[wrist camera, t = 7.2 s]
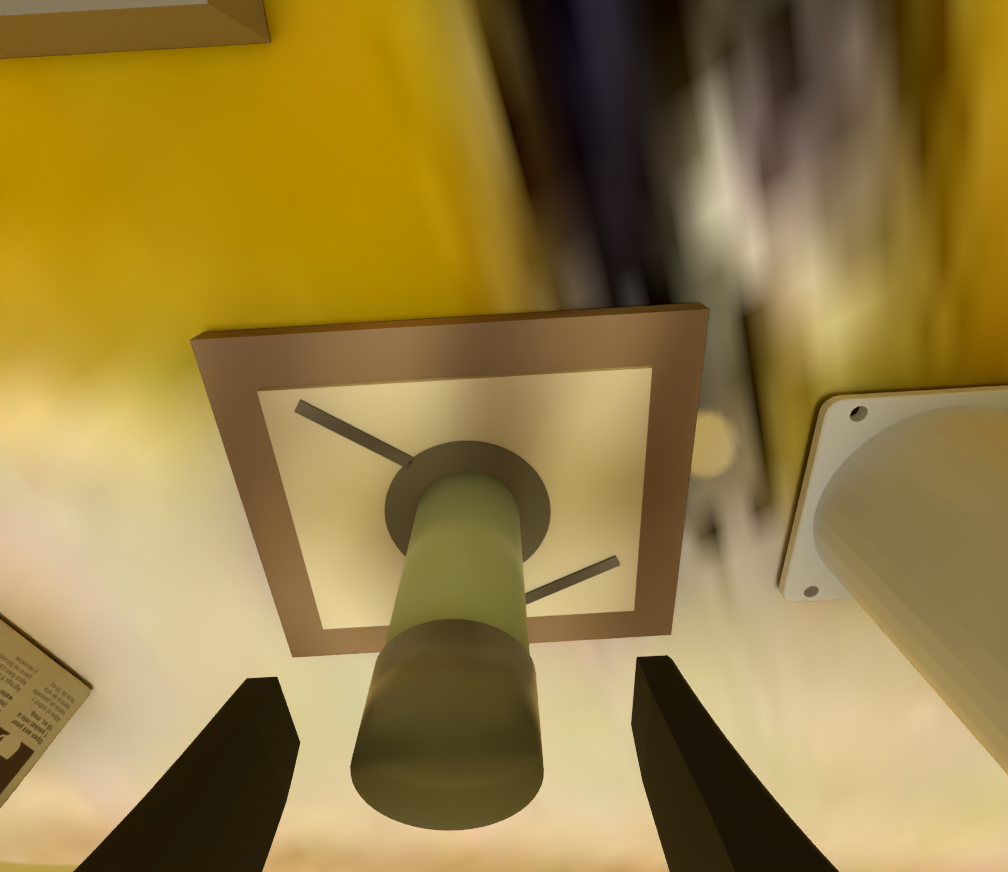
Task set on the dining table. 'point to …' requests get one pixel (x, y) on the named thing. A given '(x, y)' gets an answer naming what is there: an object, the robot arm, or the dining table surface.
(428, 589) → the marker
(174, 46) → the button housing
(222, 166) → the dining table surface
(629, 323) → the brown picture frame
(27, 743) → the coffee box
